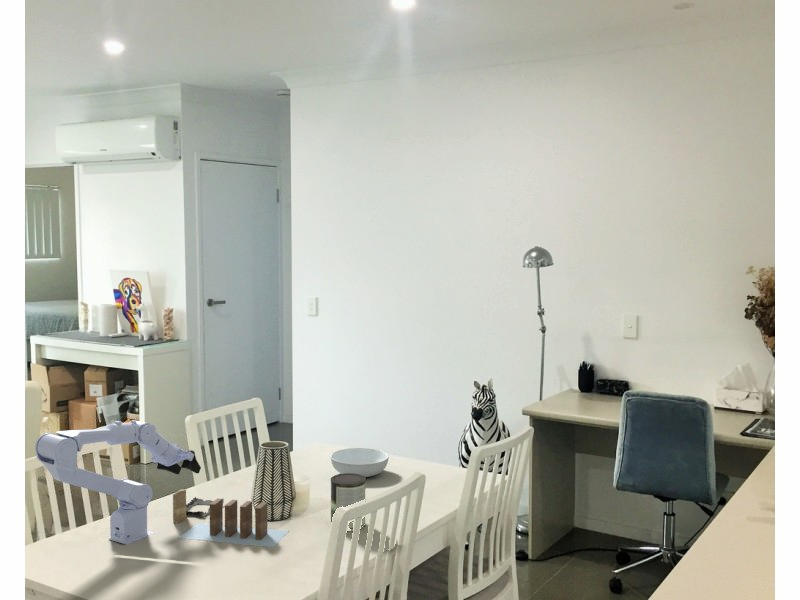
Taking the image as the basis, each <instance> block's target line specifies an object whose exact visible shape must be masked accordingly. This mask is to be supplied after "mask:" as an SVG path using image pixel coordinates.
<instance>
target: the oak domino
mask: <svg viewBox="0 0 800 600" xmlns="http://www.w3.org/2000/svg"><path fill="white" fill-rule="evenodd" d="M186 504H187V489H179V490H178V491H176V492H174V493H173V494H172V523H173V524H179V523H180V522H182V521H183V520H185V519H186V518H187V515H186Z"/></svg>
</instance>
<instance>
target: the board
mask: <svg viewBox="0 0 800 600" xmlns="http://www.w3.org/2000/svg"><path fill="white" fill-rule="evenodd" d="M289 531H290V530H283V529H282V530H281V529H275V528H274V529H271V528H267V535H266V536H265V537H264V538H263V539H262V540H255V527H252V533H251V534H250V535H249V536H248V537H247V538H246V539H241V538H240V525H237V532H236V533H235V534H234V535H232V536H231V537H225V524H223V530H222V531H221V532H219V533H218V534H217V535H216V536H210V523H205V522H204V523H203V522H197V523H196V524H194V525H193V526H192V527H190V528H189V529H188V530H187V531H185V532H184V533H183V534H181V535H179V537H178V539H186V540H187V539H188V540H196V541H207V542H216V543H217V542H218V543H227V544H239V545H249V546H250V545H251V546H259V547H261V546H262V547H270V548H275V547H276V546H277V545H278V543H279V542H280V541H281V540H283V538H284V537H285V536H286V535H287V534H288V533H289Z"/></svg>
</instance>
